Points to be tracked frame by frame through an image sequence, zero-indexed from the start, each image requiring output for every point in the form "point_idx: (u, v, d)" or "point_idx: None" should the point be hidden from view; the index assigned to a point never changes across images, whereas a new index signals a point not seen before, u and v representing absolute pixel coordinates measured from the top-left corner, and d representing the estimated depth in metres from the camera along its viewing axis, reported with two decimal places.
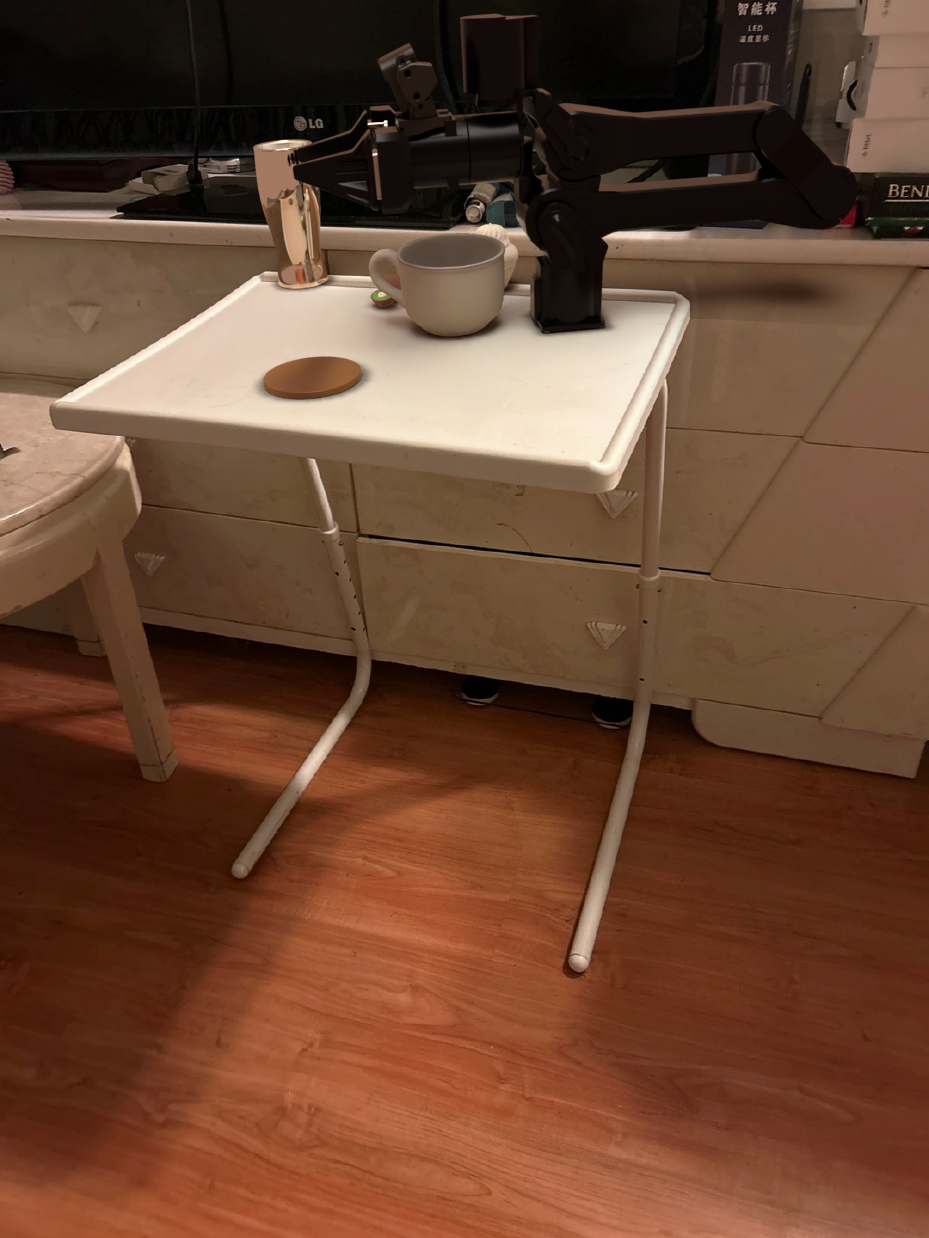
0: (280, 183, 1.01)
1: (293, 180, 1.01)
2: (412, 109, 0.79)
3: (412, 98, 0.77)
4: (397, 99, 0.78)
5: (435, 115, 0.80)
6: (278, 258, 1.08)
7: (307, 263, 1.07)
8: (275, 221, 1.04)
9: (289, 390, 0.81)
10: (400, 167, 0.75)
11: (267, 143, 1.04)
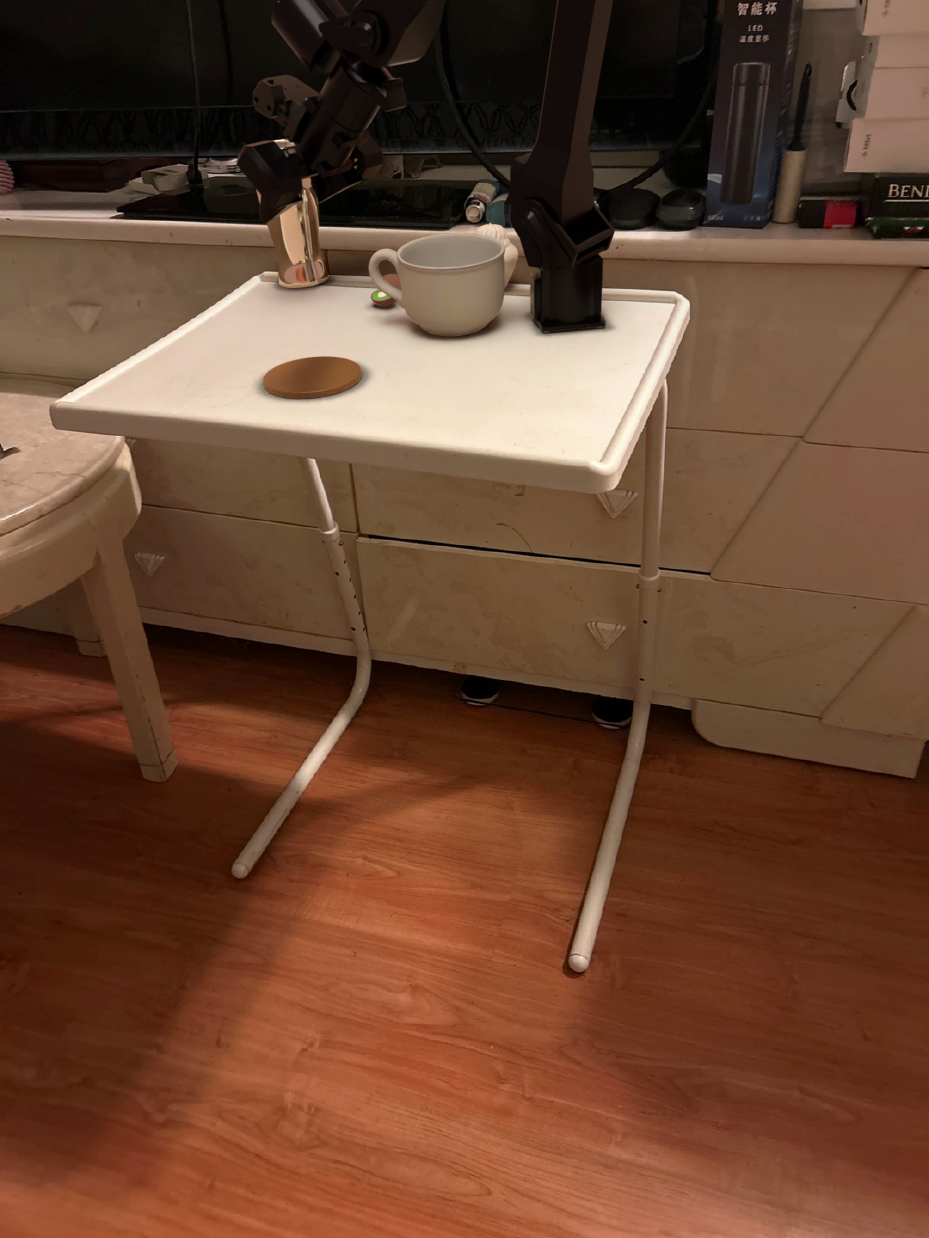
0: None
1: None
2: (284, 118, 0.97)
3: (268, 112, 0.95)
4: (276, 120, 0.98)
5: None
6: (278, 258, 1.08)
7: (307, 262, 1.07)
8: (274, 221, 1.04)
9: (289, 390, 0.81)
10: (255, 167, 0.94)
11: None
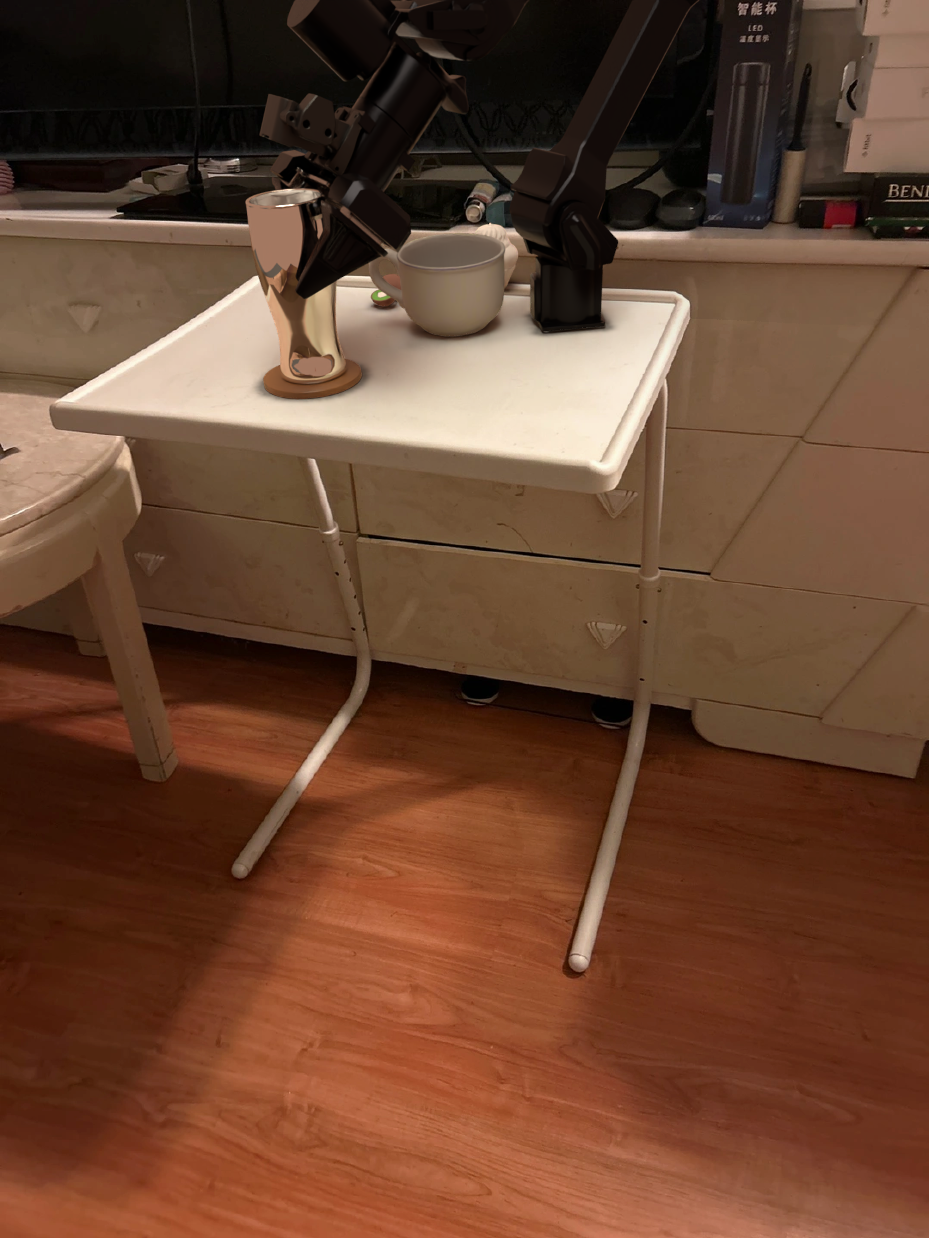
0: None
1: None
2: (329, 144, 0.72)
3: (326, 138, 0.70)
4: (311, 150, 0.72)
5: (347, 127, 0.73)
6: (304, 348, 0.80)
7: (338, 341, 0.82)
8: (314, 296, 0.77)
9: (289, 390, 0.81)
10: (380, 205, 0.70)
11: (249, 202, 0.75)
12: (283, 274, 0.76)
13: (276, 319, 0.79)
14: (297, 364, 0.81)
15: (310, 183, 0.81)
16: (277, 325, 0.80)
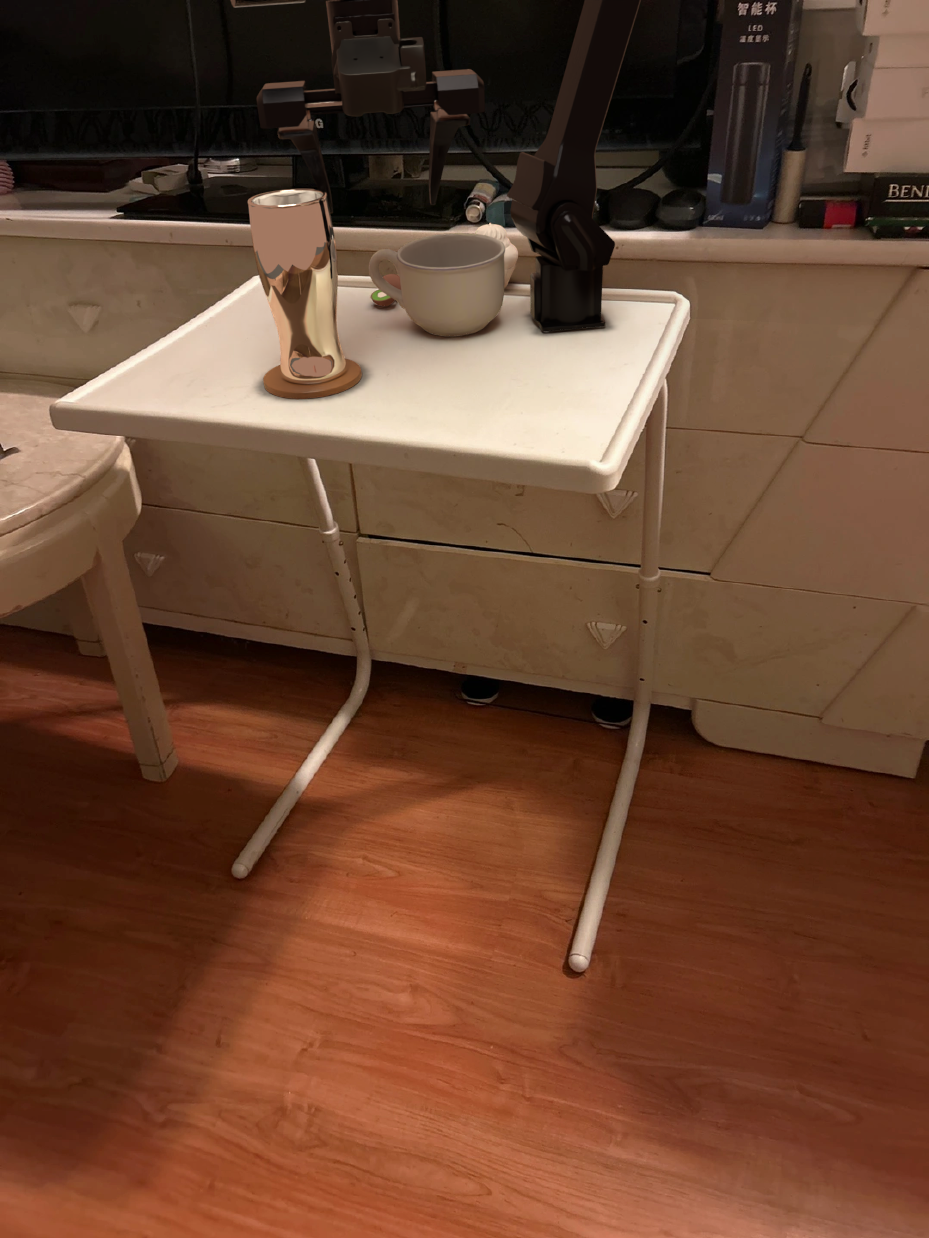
0: (324, 243, 0.76)
1: (332, 236, 0.77)
2: None
3: None
4: None
5: (392, 41, 0.72)
6: (304, 348, 0.80)
7: (338, 342, 0.82)
8: (315, 296, 0.77)
9: (289, 390, 0.81)
10: None
11: (251, 202, 0.75)
12: (284, 274, 0.76)
13: (277, 319, 0.79)
14: (297, 364, 0.81)
15: None
16: (278, 325, 0.80)
